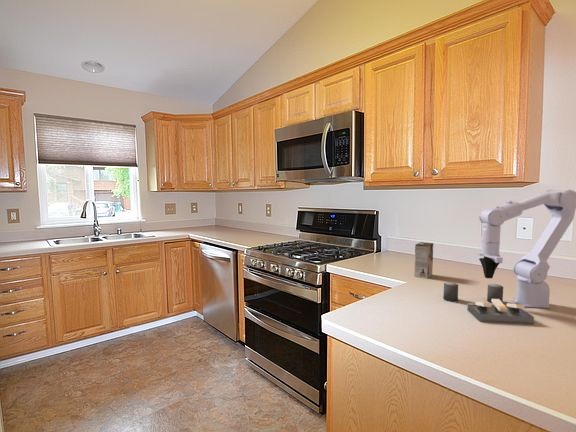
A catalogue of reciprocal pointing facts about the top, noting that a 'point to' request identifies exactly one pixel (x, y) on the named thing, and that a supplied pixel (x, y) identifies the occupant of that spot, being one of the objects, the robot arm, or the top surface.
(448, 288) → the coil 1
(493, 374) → the top surface
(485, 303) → the paddle
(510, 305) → the paddle
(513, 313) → the panel
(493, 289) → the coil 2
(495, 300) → the paddle mid
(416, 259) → the coffee box
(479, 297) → the top surface
